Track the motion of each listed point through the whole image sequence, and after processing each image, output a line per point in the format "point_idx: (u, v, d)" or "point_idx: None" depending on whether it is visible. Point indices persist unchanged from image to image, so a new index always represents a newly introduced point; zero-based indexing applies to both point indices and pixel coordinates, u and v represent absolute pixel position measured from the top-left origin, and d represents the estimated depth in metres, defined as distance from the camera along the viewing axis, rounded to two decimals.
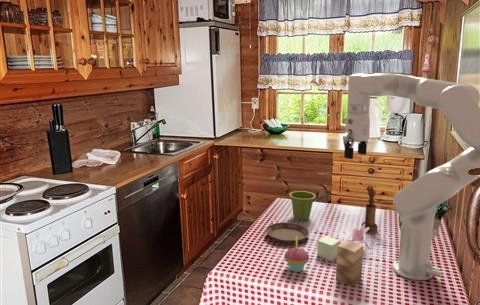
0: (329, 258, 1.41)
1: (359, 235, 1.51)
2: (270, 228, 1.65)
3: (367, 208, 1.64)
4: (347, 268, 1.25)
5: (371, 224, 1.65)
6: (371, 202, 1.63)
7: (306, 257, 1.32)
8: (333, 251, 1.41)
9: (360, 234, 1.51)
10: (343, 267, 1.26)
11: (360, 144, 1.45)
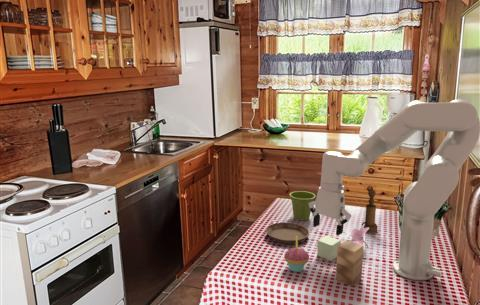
0: (329, 258, 1.41)
1: (359, 235, 1.51)
2: (270, 228, 1.65)
3: (367, 208, 1.64)
4: (347, 268, 1.25)
5: (371, 224, 1.65)
6: (371, 202, 1.63)
7: (306, 257, 1.32)
8: (333, 251, 1.41)
9: (360, 234, 1.51)
10: (343, 267, 1.26)
11: (316, 217, 1.45)
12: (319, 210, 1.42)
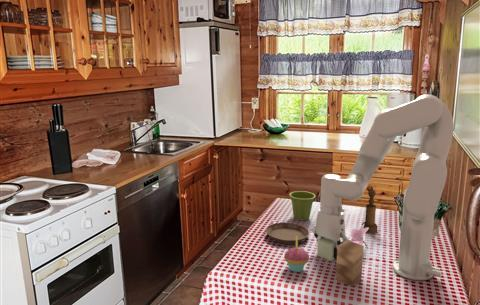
0: (329, 258, 1.41)
1: (358, 235, 1.51)
2: (270, 228, 1.65)
3: (367, 208, 1.64)
4: (347, 268, 1.25)
5: (371, 224, 1.65)
6: (371, 202, 1.63)
7: (306, 257, 1.32)
8: (333, 251, 1.41)
9: (359, 234, 1.50)
10: (343, 267, 1.26)
11: None
12: (320, 232, 1.43)
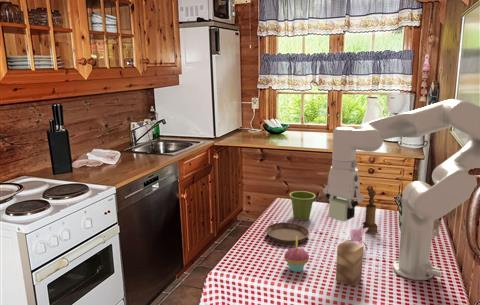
0: (342, 219, 1.29)
1: (357, 235, 1.50)
2: (270, 228, 1.65)
3: (367, 208, 1.64)
4: (347, 268, 1.25)
5: (371, 224, 1.65)
6: (371, 202, 1.63)
7: (306, 257, 1.32)
8: (346, 211, 1.28)
9: (358, 234, 1.50)
10: (343, 267, 1.26)
11: None
12: (332, 191, 1.31)
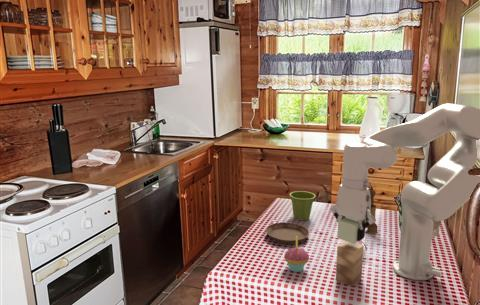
0: (352, 241, 1.21)
1: None
2: (270, 228, 1.65)
3: None
4: (347, 268, 1.25)
5: (371, 224, 1.65)
6: (371, 202, 1.63)
7: (306, 257, 1.32)
8: (356, 232, 1.21)
9: None
10: (343, 267, 1.26)
11: None
12: (341, 211, 1.24)
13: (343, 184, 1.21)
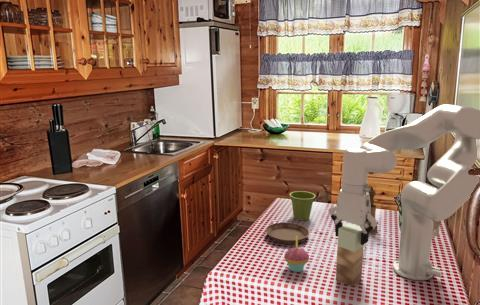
0: (352, 249, 1.22)
1: None
2: (270, 228, 1.65)
3: None
4: (347, 268, 1.25)
5: None
6: (371, 202, 1.63)
7: (306, 257, 1.32)
8: (356, 241, 1.22)
9: None
10: (343, 267, 1.26)
11: (339, 225, 1.27)
12: (341, 216, 1.24)
13: (343, 189, 1.21)
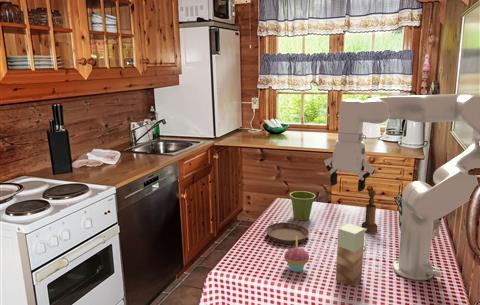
0: (352, 249, 1.22)
1: None
2: (270, 228, 1.65)
3: (367, 208, 1.64)
4: (347, 268, 1.25)
5: (371, 224, 1.65)
6: (371, 202, 1.63)
7: (306, 257, 1.32)
8: (356, 241, 1.22)
9: None
10: (343, 267, 1.26)
11: (334, 175, 1.32)
12: (337, 166, 1.29)
13: (339, 139, 1.26)
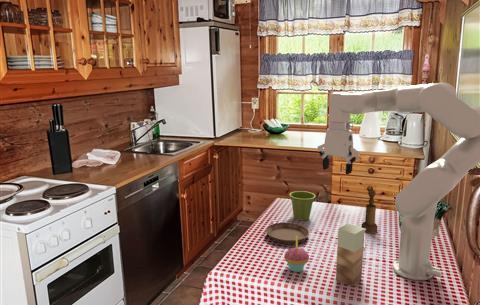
0: (352, 249, 1.22)
1: None
2: (270, 228, 1.65)
3: (367, 208, 1.64)
4: (347, 268, 1.25)
5: (371, 224, 1.65)
6: (371, 202, 1.63)
7: (306, 257, 1.32)
8: (356, 241, 1.22)
9: None
10: (343, 267, 1.26)
11: (326, 160, 1.48)
12: (328, 151, 1.45)
13: (329, 127, 1.42)
